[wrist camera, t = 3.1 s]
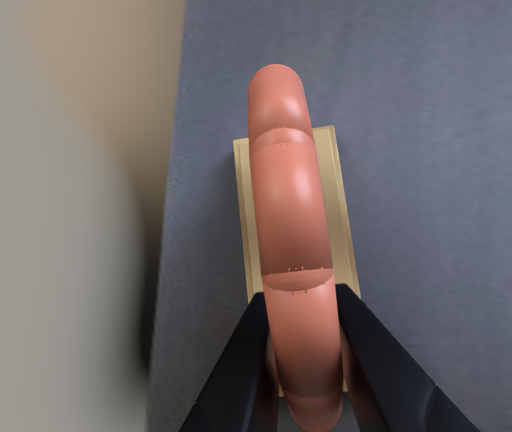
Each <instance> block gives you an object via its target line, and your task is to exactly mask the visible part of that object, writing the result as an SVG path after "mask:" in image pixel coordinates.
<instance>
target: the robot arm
mask: <svg viewBox="0 0 512 432" xmlns="http://www.w3.org/2000/svg"><path fill="white" fill-rule="evenodd" d="M335 290H336V300H337V310H338V321H339V331H340V341H341V352H342V362H343V372H344V379H345V382H346V386H347V389H348V393H349V396H350V399H351V403H352V406H353V409H354V413H355V416H356V420H357V423H358V426H359V430H360V432H481V431H479V430H478V429H477V428H476V427H475V426H474V425H473V424H472V423H471V422H470V421H469V420H468V419H467V418H466V417H465V415H464V414H463V413H462V412H461V411H460V410H459V409H458V408H457V407H456V406H455V405H454V404H453V403H452V402H451V400H450V399H449V398H448V397H447V396H446V395H445V394H444V393H443V391H442V390H441V389H440V388H439V387H438V386H435V383H434V382H433V380H432V379H431V378H430V377H429V376H428V375H427V374H426V372H425V371H424V370H423V369H422V368H421V367H420V366H419V365H418V363H417V362H416V361H415V360H414V359H413V358H412V357H411V356H410V354H409V353H408V352H407V351H406V350H405V349H404V348H403V347H402V345H401V344H400V343H399V342H398V341H397V340H396V339H395V338H394V336H393V335H392V334H391V333H390V332H389V331H388V330H387V329H386V327H385V326H384V325H383V324H382V323H381V322H380V321H379V319H378V318H377V317H376V316H375V315H374V314H373V313H372V312H371V310H370V309H369V308H368V307H367V306H366V305H365V304H364V303H363V301H362V300H361V299H360V298H359V297H358V296H357V295H356V294H355V292H354V291H353V290H352V289H351V288H350V287H349V286H348V285H347V284H346V283H339V284H335ZM196 403H197V404H194V405H193V407H192V409H191V410H190V412H189V414H188V416H187V418H186V420H185V421H184V423H183V425H182V426H181V428H180V430H179V432H277V425H278V403H279V379H278V374H277V368H276V362H275V356H274V350H273V344H272V338H271V332H270V326H269V320H268V314H267V308H266V302H265V296H264V291H263V292H256V293H255V294H254V295H253V297H252V299H251V301H250V303H249V304H248V306H247V308H246V310H245V312H244V314H243V315H242V317H241V319H240V321H239V323H238V325H237V326H236V328H235V330H234V332H233V334H232V336H231V337H230V339H229V341H228V343H227V345H226V347H225V348H224V350H223V352H222V354H221V356H220V358H219V359H218V361H217V363H216V365H215V367H214V369H213V370H212V372H211V374H210V376H209V378H208V380H207V381H206V383H205V385H204V387H203V389H202V391H201V392H200V394H199V396H198V398H197V400H196Z"/></svg>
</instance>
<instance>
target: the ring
mask: <svg viewBox="0 0 512 432" xmlns="http://www.w3.org/2000/svg"><path fill="white" fill-rule="evenodd" d="M248 133H249V163H250V173H251V182H252V192H253V202H254V211H255V221H256V230H257V240H258V250H259V259H260V269H261V277H262V284H263V290H264V296H265V302H266V308H267V314H268V320H269V326H270V332H271V338H272V344H273V350H274V356H275V362H276V368H277V374H278V379H279V383H280V386H281V389H282V392H283V394H284V397H285V400H286V403H287V405H288V408H289V411H290V413H291V416H292V418H293V420H294V421H295V422H296V424H297V425H298V426H299V427H301V428H302V429H303V430H305V431H307V432H327V431H329V430H330V429H332V428H333V427H334V426H335V425H336V424H337V422H338V421H339V419H340V416H341V413H342V400H343V379H344V372H343V362H342V352H341V341H340V331H339V321H338V310H337V300H336V290H335V279H334V270H333V262H332V255H331V249H330V242H329V235H328V228H327V221H326V214H325V207H324V200H323V193H322V186H321V179H320V172H319V165H318V158H317V151H316V146H315V141H314V136H313V131H312V127H311V122H310V117H309V112H308V108H307V103H306V98H305V93H304V89H303V85H302V82H301V80H300V78H299V76H298V75H297V73H296V72H294V71H293V70H292V69H291V68H289V67H287V66H284V65H280V64H272V65H268V66H265V67H263V68H262V69H260V70H259V71H258V72H257V73H256V74H255V75H254V76H253V78H252V80H251V81H250V84H249V88H248Z"/></svg>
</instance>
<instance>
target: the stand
mask: <svg viewBox="0 0 512 432" xmlns="http://www.w3.org/2000/svg"><path fill="white" fill-rule="evenodd" d="M312 131H313V136H314V141H315V146H316V151H317V158H318V165H319V172H320V179H321V186H322V193H323V200H324V207H325V214H326V221H327V228H328V235H329V242H330V249H331V255H332V262H333V270H334V279H335V284H339V283H346V284H347V285H348V286H349V287H350V288H351V289H352V290H353V291H354V292H355V294H356V295H357V296H358V297H359V298H360V299H361V296H360V289H359V283H358V277H357V270H356V264H355V257H354V251H353V245H352V238H351V232H350V225H349V219H348V213H347V206H346V200H345V193H344V187H343V181H342V174H341V168H340V161H339V155H338V149H337V142H336V136H335V129H334V125H332V126H325V127H319V128H312ZM233 148H234V158H235V169H236V179H237V189H238V200H239V210H240V221H241V231H242V242H243V252H244V262H245V273H246V283H247V294H248V304H249V303H250V301H251V299H252V297H253V295H254V294H255V293H256V292H263V291H264V290H263V284H262V277H261V269H260V259H259V250H258V240H257V230H256V221H255V211H254V202H253V192H252V182H251V173H250V163H249V138H245V139H238V140H233ZM343 392H348V389H347V386H346V382H345V379H343ZM279 397H284V394H283V392H282V389H281V386H280V383H279Z"/></svg>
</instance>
